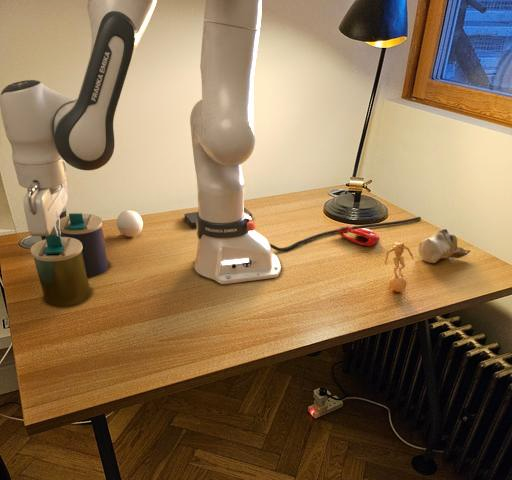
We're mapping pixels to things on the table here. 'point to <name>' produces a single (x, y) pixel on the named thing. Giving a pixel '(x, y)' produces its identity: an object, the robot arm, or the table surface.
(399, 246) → the figurine
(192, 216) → the smart home device
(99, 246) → the navy lidded canister
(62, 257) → the olive tumbler
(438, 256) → the ceramic sculpture
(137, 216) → the white egg
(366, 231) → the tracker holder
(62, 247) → the teal slider
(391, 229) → the table surface
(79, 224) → the teal ribbed square plate
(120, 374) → the table surface
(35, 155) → the robot arm
